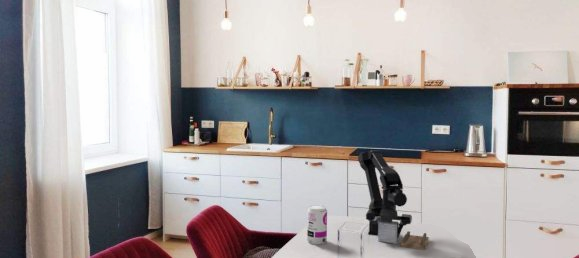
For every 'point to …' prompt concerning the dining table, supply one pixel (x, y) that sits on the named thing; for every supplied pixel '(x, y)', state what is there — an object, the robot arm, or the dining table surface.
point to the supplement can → (317, 225)
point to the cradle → (415, 241)
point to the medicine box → (388, 232)
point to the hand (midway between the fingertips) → (388, 236)
